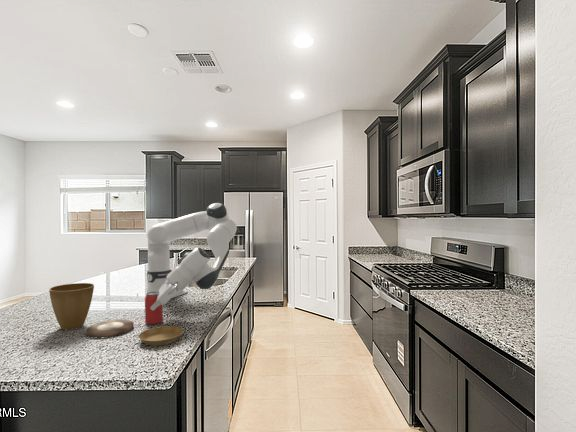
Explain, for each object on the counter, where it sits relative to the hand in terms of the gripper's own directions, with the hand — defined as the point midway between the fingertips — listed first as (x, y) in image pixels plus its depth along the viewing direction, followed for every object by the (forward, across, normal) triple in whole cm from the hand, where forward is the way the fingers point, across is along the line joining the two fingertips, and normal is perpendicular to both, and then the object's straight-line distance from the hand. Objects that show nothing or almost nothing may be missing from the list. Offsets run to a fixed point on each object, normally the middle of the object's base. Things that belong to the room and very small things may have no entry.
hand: (152, 306), depth 135 cm
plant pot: (+26, +6, +16) cm, 31 cm away
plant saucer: (+2, -21, -8) cm, 22 cm away
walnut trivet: (+15, -4, +6) cm, 16 cm away
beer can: (+4, 0, -5) cm, 7 cm away
